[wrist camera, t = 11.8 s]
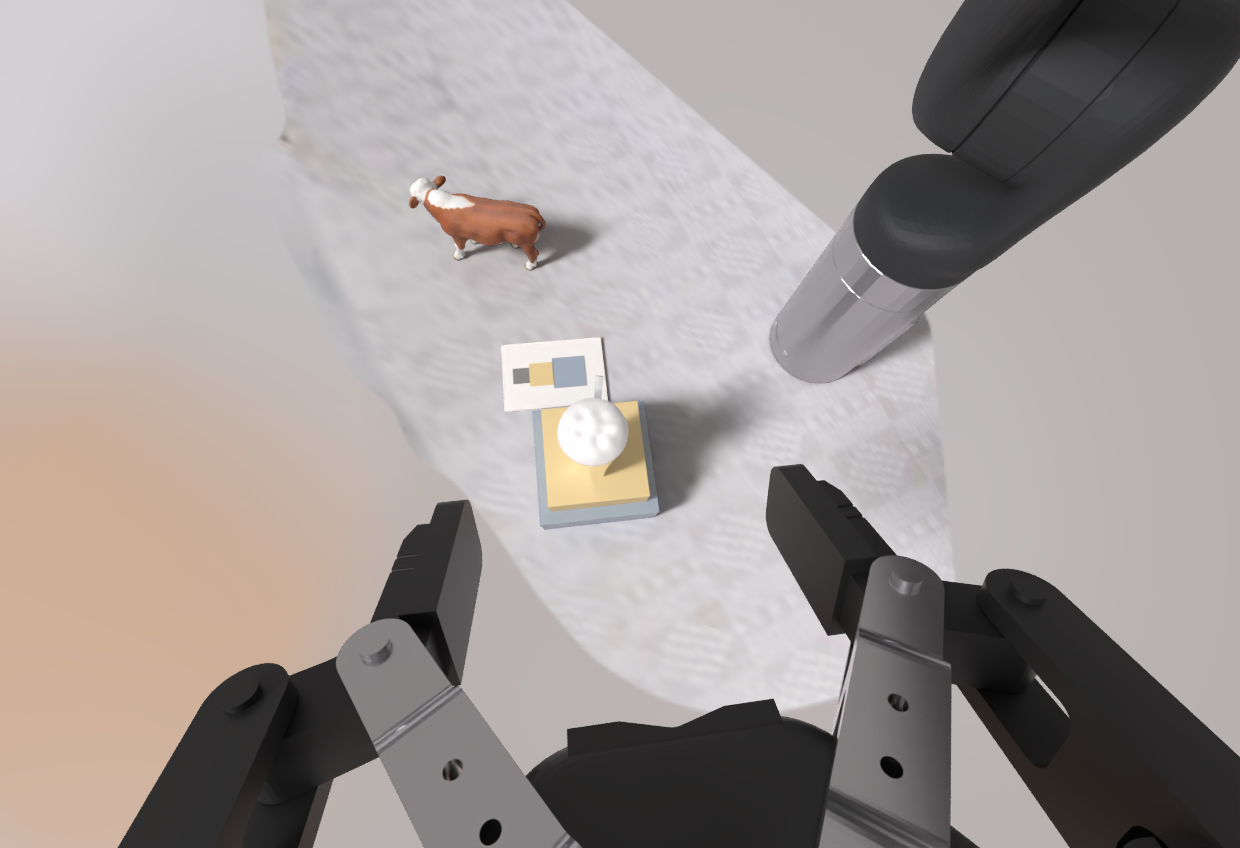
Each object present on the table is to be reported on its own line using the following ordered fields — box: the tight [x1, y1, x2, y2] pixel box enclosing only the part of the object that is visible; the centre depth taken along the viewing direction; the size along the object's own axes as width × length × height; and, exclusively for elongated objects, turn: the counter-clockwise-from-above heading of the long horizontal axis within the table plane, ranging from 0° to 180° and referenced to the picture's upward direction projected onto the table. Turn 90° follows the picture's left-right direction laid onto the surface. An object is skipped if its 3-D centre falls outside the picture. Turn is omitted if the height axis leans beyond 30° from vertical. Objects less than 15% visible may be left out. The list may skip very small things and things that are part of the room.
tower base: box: [532, 401, 659, 529], centre depth 43 cm, size 10×10×7 cm
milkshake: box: [557, 375, 628, 479], centre depth 35 cm, size 5×5×10 cm
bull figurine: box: [409, 176, 545, 270], centre depth 49 cm, size 4×13×8 cm, turn 78°
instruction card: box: [501, 337, 608, 412], centre depth 49 cm, size 10×7×1 cm
